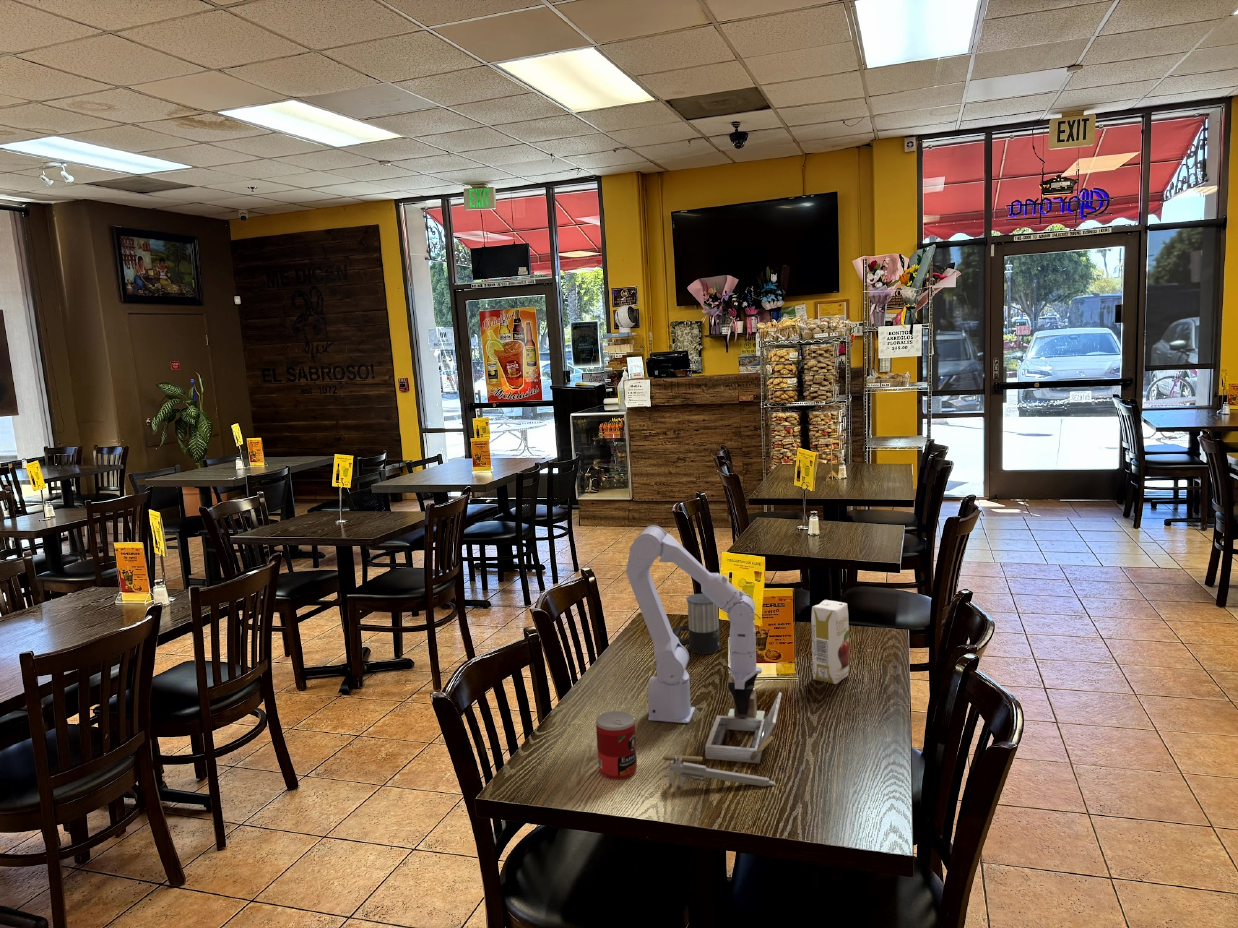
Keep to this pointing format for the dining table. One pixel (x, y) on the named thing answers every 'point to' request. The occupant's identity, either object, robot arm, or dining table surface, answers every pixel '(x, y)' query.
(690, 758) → the brass bar
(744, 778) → the caliper
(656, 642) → the robot arm
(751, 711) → the walnut block
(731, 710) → the green rubber mat
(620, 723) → the canned food
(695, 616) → the milk frother
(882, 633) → the dining table surface
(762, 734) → the propped lid
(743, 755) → the aluminium case
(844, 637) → the juice carton
